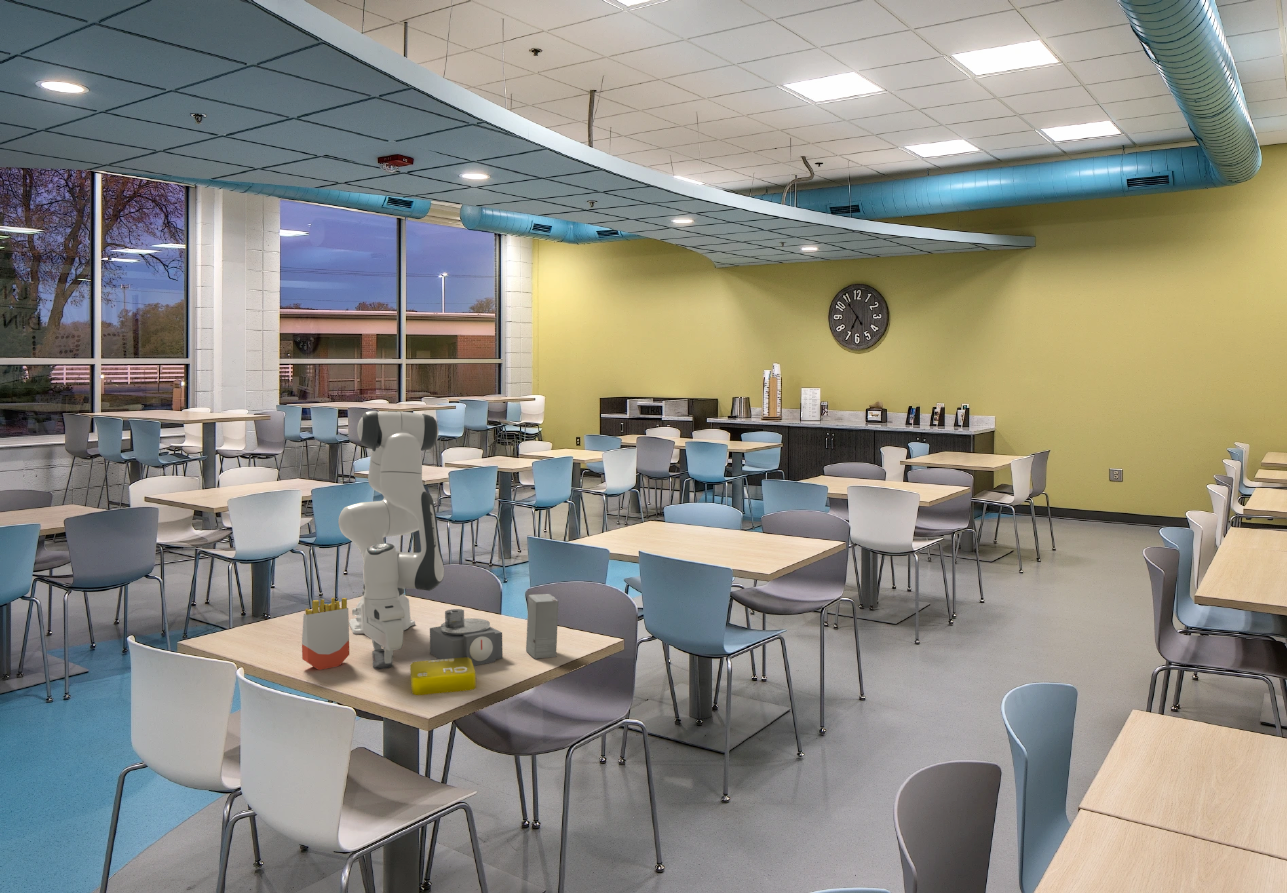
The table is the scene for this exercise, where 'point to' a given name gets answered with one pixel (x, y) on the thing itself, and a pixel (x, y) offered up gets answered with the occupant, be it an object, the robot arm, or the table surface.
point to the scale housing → (467, 645)
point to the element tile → (442, 676)
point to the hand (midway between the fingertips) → (383, 659)
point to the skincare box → (542, 626)
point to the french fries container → (326, 634)
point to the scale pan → (468, 627)
